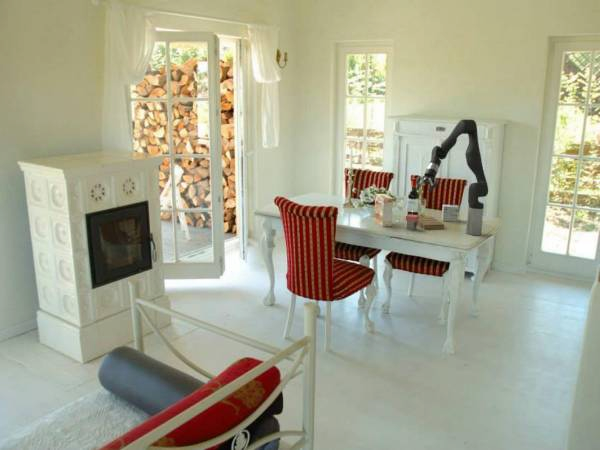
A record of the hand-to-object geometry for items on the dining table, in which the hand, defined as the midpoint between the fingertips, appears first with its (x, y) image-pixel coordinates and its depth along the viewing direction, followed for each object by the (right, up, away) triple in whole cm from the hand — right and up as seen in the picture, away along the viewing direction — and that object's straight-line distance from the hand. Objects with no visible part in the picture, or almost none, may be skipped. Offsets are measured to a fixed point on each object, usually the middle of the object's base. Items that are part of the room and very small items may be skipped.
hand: (423, 190), depth 381 cm
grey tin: (-9, -26, -4) cm, 28 cm away
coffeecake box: (-27, -23, +7) cm, 36 cm away
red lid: (-9, -20, -6) cm, 23 cm away
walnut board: (+4, -23, +7) cm, 24 cm away
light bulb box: (+23, -20, +21) cm, 37 cm away
